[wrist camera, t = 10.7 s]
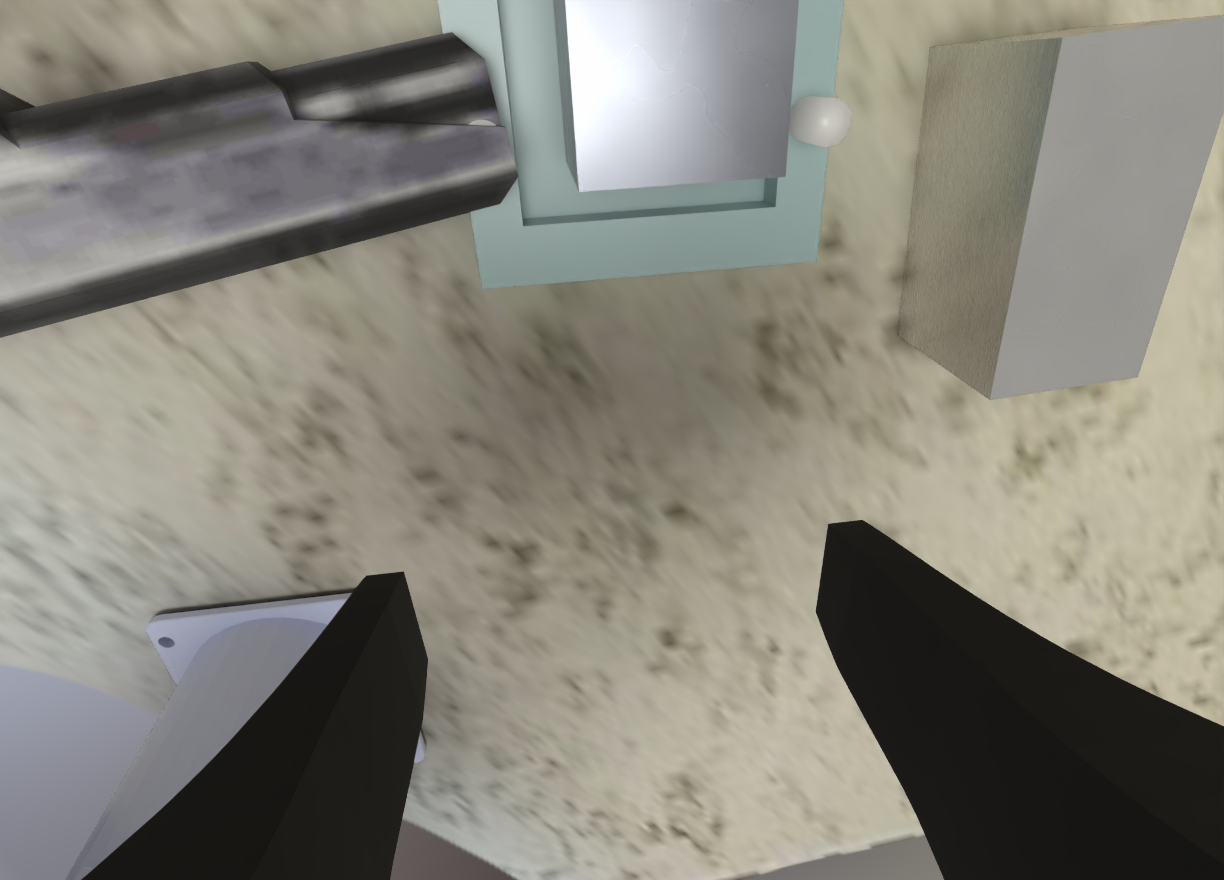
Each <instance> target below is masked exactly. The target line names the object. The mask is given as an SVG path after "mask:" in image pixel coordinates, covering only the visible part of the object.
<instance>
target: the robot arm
mask: <svg viewBox="0 0 1224 880" xmlns="http://www.w3.org/2000/svg"><path fill="white" fill-rule="evenodd" d="M816 614H817V616H818V619H819V622H820V624H821V627H822V630H823V632H824V635H825V638H826V640H827V643H828V645H829V648H830V650H831V653H832V655H833V658H834V660H835V663H836V665H837V667H838V669H839V671H840V673H841V675H842V677H843V679H844V681H845V682H846V684H847V686H848V688H849V690H850V692H851V694H852V695H853V697H854V699H855V701H856V703H857V705H858V707H859V708H860V710H861V712H862V714H863V716H864V718H865V719H866V721H867V723H868V725H869V727H870V729H871V730H872V732H873V734H874V736H875V738H876V740H877V741H878V743H879V745H880V747H881V749H882V751H883V752H884V754H885V756H886V758H887V760H888V762H889V763H890V765H891V767H892V769H893V771H894V773H895V774H896V776H897V778H898V780H899V782H900V783H901V785H902V787H903V789H904V791H905V793H906V795H907V797H908V799H909V801H910V803H911V805H912V807H913V809H914V811H915V813H916V815H917V817H918V820H919V822H920V824H921V827H922V829H923V831H924V833H925V836H926V838H927V840H928V843H929V845H930V847H931V850H932V852H933V854H934V857H935V859H936V861H937V864H938V865H939V868H940V871H941V873H942V875H943V878H944V880H1224V726H1222V725H1219V724H1217V723H1215V722H1212V721H1210V720H1208V719H1206V718H1204V717H1201V716H1199V715H1197V714H1195V713H1193V712H1190V711H1188V710H1186V709H1184V708H1182V707H1179V706H1177V705H1175V704H1173V703H1170V702H1168V701H1166V700H1164V699H1162V698H1159V697H1157V696H1155V695H1153V694H1151V693H1149V692H1147V691H1145V690H1143V689H1141V688H1138V687H1136V686H1134V685H1132V684H1130V683H1128V682H1126V681H1124V680H1122V679H1120V678H1118V677H1116V676H1114V675H1112V674H1110V673H1109V672H1107V671H1105V670H1103V669H1101V668H1099V667H1097V666H1095V665H1093V664H1091V663H1089V662H1087V661H1086V660H1084V659H1082V658H1080V657H1078V656H1076V655H1074V654H1072V653H1070V652H1068V651H1067V650H1065V649H1063V648H1061V647H1059V646H1058V645H1056V644H1054V643H1052V642H1051V641H1049V640H1047V639H1045V638H1044V637H1042V636H1040V635H1038V634H1037V633H1035V632H1033V631H1032V630H1030V629H1028V628H1027V627H1025V626H1023V625H1022V624H1020V623H1018V622H1017V621H1015V620H1013V619H1012V618H1010V617H1008V616H1007V615H1005V614H1003V613H1002V612H1000V611H999V610H997V609H995V608H994V607H992V606H991V605H989V604H987V603H986V602H984V601H983V600H981V599H980V598H978V597H977V596H975V595H973V594H972V593H970V592H969V591H967V590H966V589H964V588H963V587H961V586H960V585H958V584H957V583H955V582H954V581H952V580H951V579H949V578H948V577H946V576H945V575H943V574H942V573H940V572H939V571H937V570H936V569H934V568H933V567H931V566H930V565H929V564H927V563H926V562H924V561H923V560H921V559H920V558H918V557H917V556H915V555H914V554H913V553H911V552H910V551H908V550H907V549H905V548H904V547H902V546H901V545H899V544H898V543H897V542H895V541H894V540H892V539H891V538H889V537H888V536H886V535H885V534H883V533H882V532H880V531H879V530H877V529H876V528H874V527H873V526H871V525H870V524H868V523H867V522H865V521H863V520H858V521H849V522H840V523H832V524H828V529H827V536H826V543H825V550H824V557H823V565H822V572H821V579H820V586H819V593H818V600H817V607H816ZM146 632H147V634H148V636H149V638H150V640H151V642H152V643H153V645H154V647H155V649H156V650H157V652H158V654H159V656H160V657H161V659H162V661H163V663H164V664H165V666H166V668H167V670H168V671H169V673H170V675H171V677H172V679H173V680H174V682H175V684H176V686H177V687H176V688H175V690H174V692H173V694H172V695H171V697H170V699H169V701H168V702H167V704H166V706H165V707H164V709H163V711H162V713H161V714H160V716H159V718H158V720H157V721H156V723H155V725H154V727H153V728H152V730H151V732H150V734H149V735H148V737H147V739H146V740H145V742H144V744H143V746H142V748H141V749H140V751H139V753H138V754H137V756H136V758H135V760H134V761H133V763H132V765H131V766H130V768H129V770H128V772H127V773H126V775H125V777H124V779H123V780H122V782H121V784H120V785H119V787H118V789H117V791H116V792H115V794H114V796H113V798H112V799H111V801H110V803H109V805H108V806H107V808H106V810H105V811H104V813H103V815H102V817H101V818H100V820H99V822H98V824H97V825H96V827H95V829H94V831H93V832H92V834H91V836H90V837H89V839H88V841H87V843H86V844H85V846H84V848H83V850H82V851H81V853H80V855H79V857H78V858H77V860H76V862H75V863H74V865H73V867H72V869H71V870H70V872H69V874H68V876H67V878H66V879H65V880H390V877H391V870H392V865H393V859H394V854H395V850H396V845H397V841H398V835H399V831H400V826H401V822H402V817H403V812H404V807H405V803H406V798H407V793H408V788H409V784H410V779H411V774H412V769H413V765H414V763H418V762H420V761H422V760H423V759H424V758H425V753H426V747H425V744H424V740H423V737H422V734H421V731H420V730H421V725H422V720H423V711H424V701H425V691H426V678H427V665H428V658H427V654H426V650H425V647H424V643H423V639H422V636H421V632H420V629H419V625H418V621H417V618H416V614H415V610H414V607H413V603H412V600H411V596H410V592H409V589H408V585H407V581H406V578H405V574H404V572H396V573H387V574H378V575H369V576H366V577H365V578H364V579H363V580H362V581H361V582H360V584H359V585H358V586H357V587H356V589H355V590H354V591H353V593H346V594H337V595H328V596H320V597H311V598H302V599H293V600H285V601H276V602H267V603H258V604H249V605H241V606H232V607H223V608H214V609H206V610H197V611H188V612H179V613H171V614H162V615H157V616H154V617H153V618H152V619H151V620H150V621H149V623H148V624H147V626H146ZM166 637H168V638H166ZM169 638H171V639H169Z"/></svg>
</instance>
